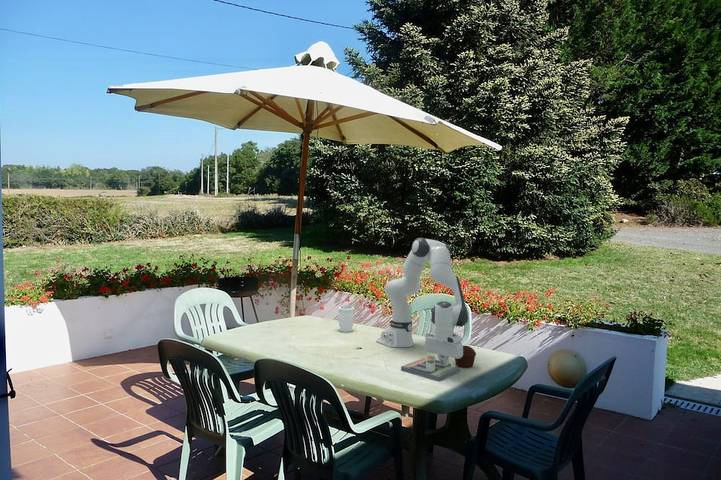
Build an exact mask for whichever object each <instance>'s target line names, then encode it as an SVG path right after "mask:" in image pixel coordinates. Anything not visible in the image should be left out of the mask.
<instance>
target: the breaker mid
mask: <svg viewBox="0 0 721 480" xmlns="http://www.w3.org/2000/svg"><path fill="white" fill-rule="evenodd" d="M425 359H426V362H427V361H429V360H432V361H434V362H435V360H436V357H435V356H432V355H428V356H427V357H426V358H425Z"/></svg>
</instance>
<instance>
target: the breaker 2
mask: <svg viewBox="0 0 721 480" xmlns="http://www.w3.org/2000/svg"><path fill="white" fill-rule="evenodd" d="M442 359H443V360H444V359H445V358H444V355H442ZM449 360H450V357H449V358H448V359H447V363H446V364H440V365H442V366H447V365H449V364H450V362H449Z"/></svg>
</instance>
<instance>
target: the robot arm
mask: <svg viewBox="0 0 721 480" xmlns="http://www.w3.org/2000/svg"><path fill="white" fill-rule="evenodd" d="M451 255H452V250H451V246H450V245H449V244H447V243H445V242H441V241H439V240H436V239H429V238H424V237H417V238H416V239H414V240H413V242H412V245H411V250H410V252H409V253H408V255H407V257H406V260H405V261H404V263H403V265H402V271H403V275H402V276H401V277H400V278H394V279H391V280H390V281H388V282H386V283H385V285H384V294H385V295H386V296H387V297H388V298H389V300H390V303H391V306H392V319H391V320H389V321H388V323H389V324H390V325H389V326H387V327H386V328H385V329H383V330H382V331H381V333H380V337H379V338H377V339H376V343H379V344H381V345H384V346H387V347H389V348H409V347H414V345H415V344H414V339H413V331H412V330H413V320H412V318H413V317H412V315H413V312H412V311H413V309H412V308H413V307H412V306H411V305H410V304H409V302H408V297H410V296H411V297H412V296H414V295H416V294H418V293H419V292H420V290H421V282H420V277H421V275H422V273H423V270H424V269H425V266H426V265H427V262H428V260H429V272H430V277H431V279H432V280H433V281H434V282H436V283H437V284H439V285H440V286H444V287H447V288H448V289H451V291H452V292H453V294H454V299H455V303H456V304H455V305H453V304H452V303H451V302H448V301H443V300H442V301H439V302H437V303H436V304H435V306H434V307H432V308H431V310H430V312H431V313H430V314H431V315H430V316H431V317H430V322H432V324H434V328H433V329H434V331H433V332H434V333H431V332H428V333H426V334H425V340H424V351H425V352H427V353H432V354H436V355H437V358H438V361H440V364H446V363H447V359H448V358H449V359H450V358H453V359H455V358H457V359H459V358H461V357H462V356H463V346H464V345H463V343H462V342H463V337H462V336H461V335H459V334H456V332H454V329H453V326H454V327H455V326H456V327H463V326H465V325H466V324H467V323H469V318H470V317H469V312H468V309H467V305H466V301H465V298H464V293H463V289H462V285H461V281H460V279H459V277H458V276H457V275H456V274H455V273H454V272H453V269H452V260H451ZM442 355H444V358H445V359H444V360H443V359H442Z"/></svg>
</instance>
